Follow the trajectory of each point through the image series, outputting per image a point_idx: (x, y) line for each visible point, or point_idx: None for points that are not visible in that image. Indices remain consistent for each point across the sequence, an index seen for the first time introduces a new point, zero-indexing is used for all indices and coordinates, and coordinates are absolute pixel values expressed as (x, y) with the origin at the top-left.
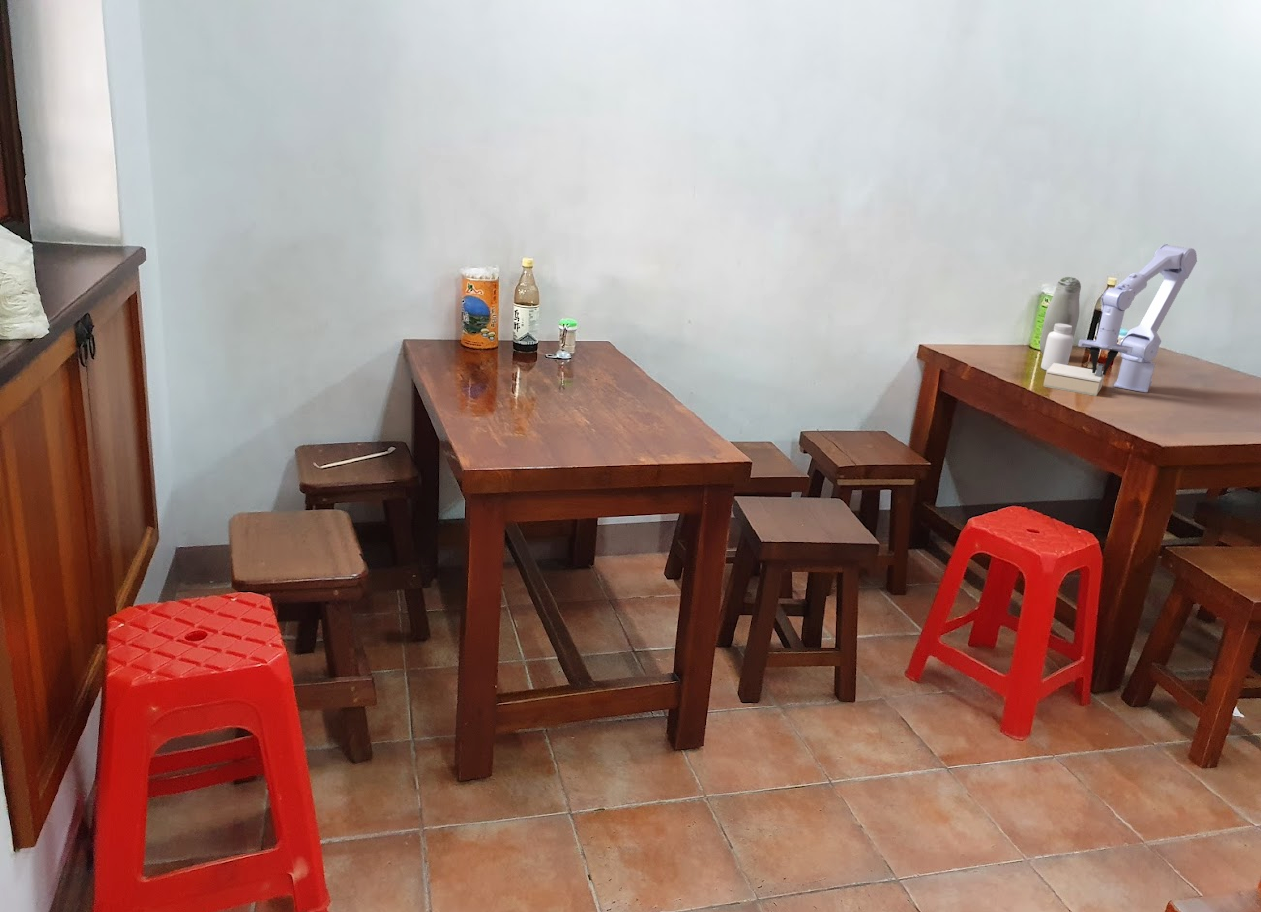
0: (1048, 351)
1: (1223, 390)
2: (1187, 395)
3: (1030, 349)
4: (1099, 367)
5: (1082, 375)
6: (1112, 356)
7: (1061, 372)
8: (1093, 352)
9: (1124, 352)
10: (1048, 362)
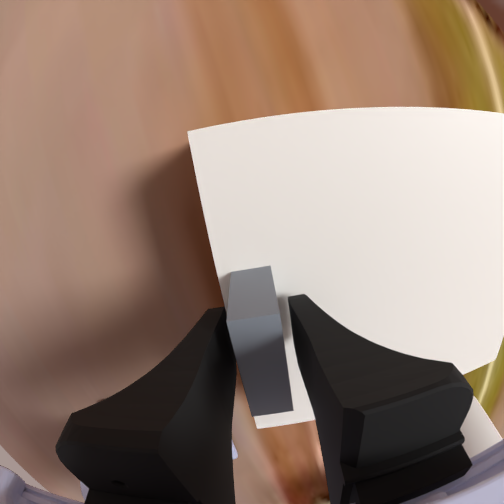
0: (496, 434)
1: (70, 493)
2: (53, 438)
3: None
4: (255, 308)
5: (354, 189)
6: (102, 414)
7: (476, 151)
8: (418, 382)
9: (45, 498)
10: (475, 408)
